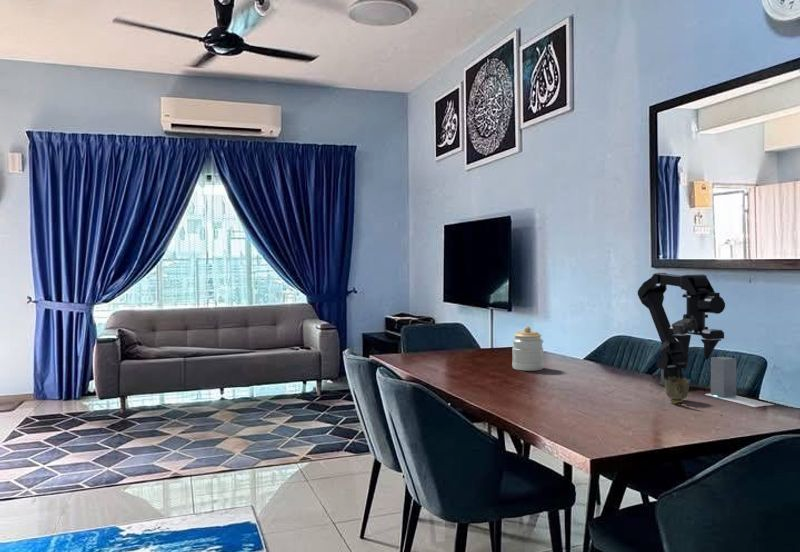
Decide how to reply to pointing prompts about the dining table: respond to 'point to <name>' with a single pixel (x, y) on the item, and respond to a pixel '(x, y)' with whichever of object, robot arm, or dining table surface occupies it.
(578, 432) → the dining table surface
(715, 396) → the teal base with post
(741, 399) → the mounting plate
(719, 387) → the tall grey box
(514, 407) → the dining table surface
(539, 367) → the jar
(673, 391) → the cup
